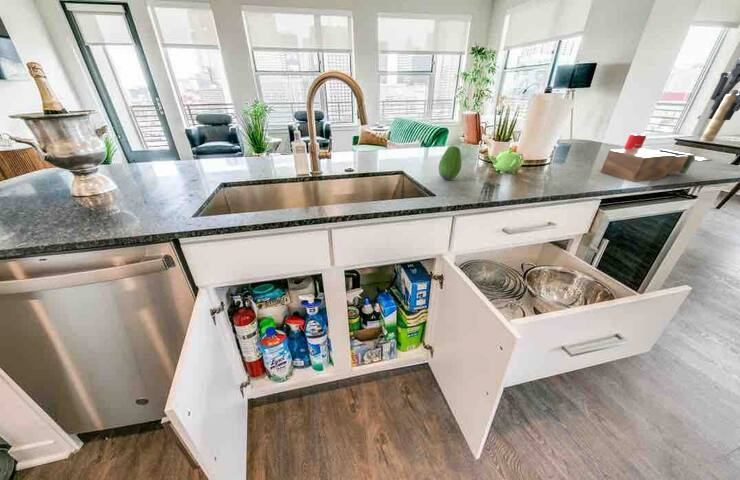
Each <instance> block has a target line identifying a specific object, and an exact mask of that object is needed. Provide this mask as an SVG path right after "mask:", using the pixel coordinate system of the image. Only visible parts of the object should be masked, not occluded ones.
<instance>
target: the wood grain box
mask: <svg viewBox="0 0 740 480" xmlns="http://www.w3.org/2000/svg"><path fill="white" fill-rule="evenodd" d="M676 156H677V155H674V154H668V153H663V152H658V151H654V150H653V149H647V148H643V147H641V148H633V149H624V148H620V149H609V150H608V152H607V155H606V157H605V160H604V162H603V165H602V167H601V168H600V173H602V174H606V175H609V176H611V177H612V176H613V177H616V178H619V179H622V180H626V181H628V182H629V181H630V182H641V181H643V182H644V181H652V180H653V181H654V180H662V179H665V178H666V176H667V175H668V174H667V172H668V170H669V169H670V167H671V165H672V163H673V161H674V159H675V157H676Z"/></svg>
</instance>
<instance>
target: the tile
mask: <svg viewBox="0 0 740 480" xmlns="http://www.w3.org/2000/svg"><path fill="white" fill-rule="evenodd" d="M694 161H698V162H699V161H713V159H711V158H706V157H701V156H697V155H696V156H695V160H694Z"/></svg>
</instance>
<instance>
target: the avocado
mask: <svg viewBox="0 0 740 480" xmlns="http://www.w3.org/2000/svg"><path fill="white" fill-rule="evenodd" d="M462 163H463V161H462V152H461V149H460V147H458V146H455V145H450V146H449V147H447V148H446V150H444V153H443V155H442V156H441V158H440V160H439V163H438V174H439V176H440V178H442V179H443V180H446V181H452V180H454V179H456V178H457V177H458V175H459V174H460V172H461V170H462Z"/></svg>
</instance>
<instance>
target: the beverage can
mask: <svg viewBox="0 0 740 480" xmlns="http://www.w3.org/2000/svg"><path fill="white" fill-rule="evenodd" d="M646 139H647V134H645V133H637V132H636V133H631V134H629V136H628V138H627V140H626V143H625V146H624V147H623V149H633V148H643V145H644V143H645V141H646Z"/></svg>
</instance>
